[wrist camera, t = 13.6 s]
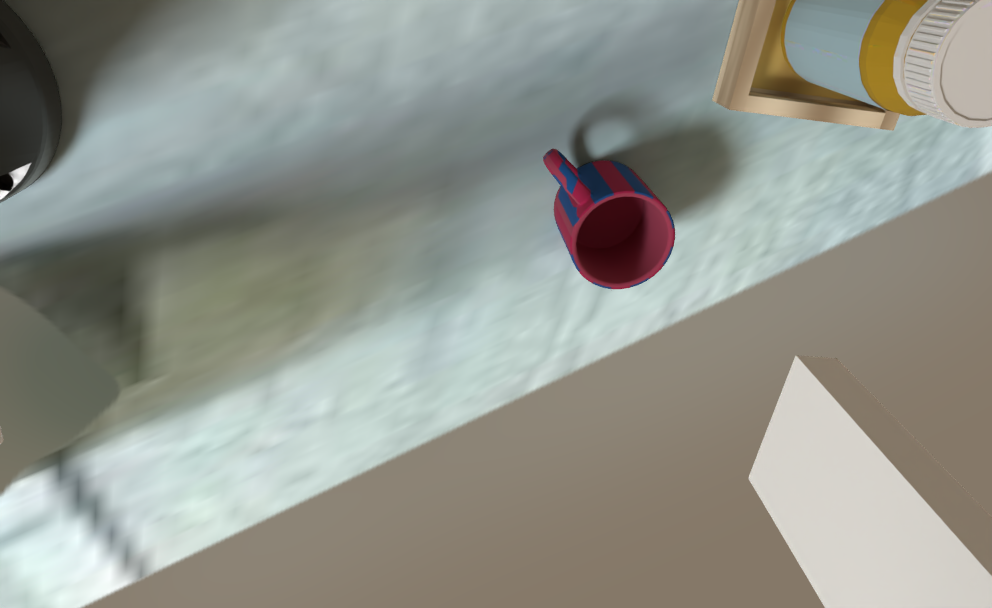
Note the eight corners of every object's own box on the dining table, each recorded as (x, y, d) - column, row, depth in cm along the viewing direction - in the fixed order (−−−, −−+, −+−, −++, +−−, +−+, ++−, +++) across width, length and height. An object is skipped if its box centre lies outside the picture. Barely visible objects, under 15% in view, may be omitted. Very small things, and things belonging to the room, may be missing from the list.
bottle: (906, 4, 44) (1112, 30, 30) (830, 101, 46) (989, 164, 33) (829, -61, 42) (1013, -63, 28) (753, 45, 44) (890, 88, 31)
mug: (585, 265, 51) (605, 307, 45) (508, 160, 47) (519, 192, 41) (662, 213, 50) (693, 250, 44) (590, 101, 46) (613, 124, 40)
